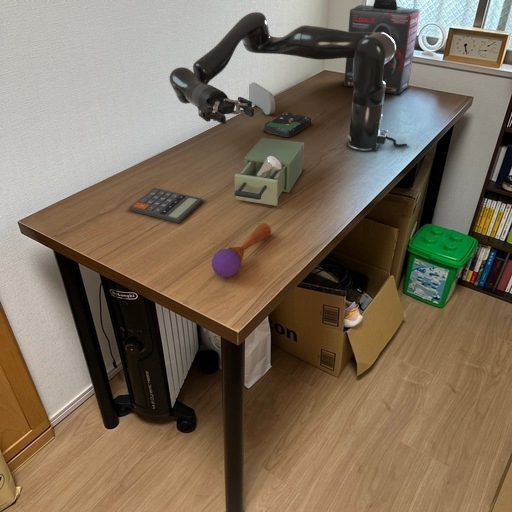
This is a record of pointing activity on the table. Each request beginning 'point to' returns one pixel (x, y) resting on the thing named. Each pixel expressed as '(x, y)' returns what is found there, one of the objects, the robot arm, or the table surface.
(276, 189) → the drawer
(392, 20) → the headset box
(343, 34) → the robot arm
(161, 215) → the calculator
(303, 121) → the disk drive
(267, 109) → the gray flat panel
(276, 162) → the milkshake
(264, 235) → the kendama
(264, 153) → the cabinet
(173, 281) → the table surface
